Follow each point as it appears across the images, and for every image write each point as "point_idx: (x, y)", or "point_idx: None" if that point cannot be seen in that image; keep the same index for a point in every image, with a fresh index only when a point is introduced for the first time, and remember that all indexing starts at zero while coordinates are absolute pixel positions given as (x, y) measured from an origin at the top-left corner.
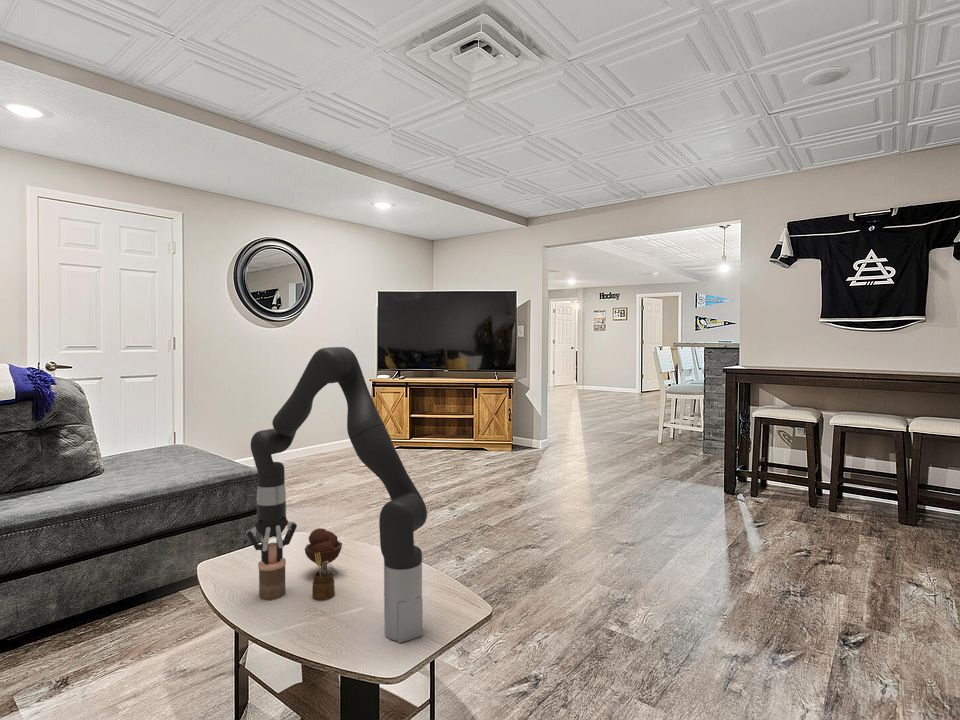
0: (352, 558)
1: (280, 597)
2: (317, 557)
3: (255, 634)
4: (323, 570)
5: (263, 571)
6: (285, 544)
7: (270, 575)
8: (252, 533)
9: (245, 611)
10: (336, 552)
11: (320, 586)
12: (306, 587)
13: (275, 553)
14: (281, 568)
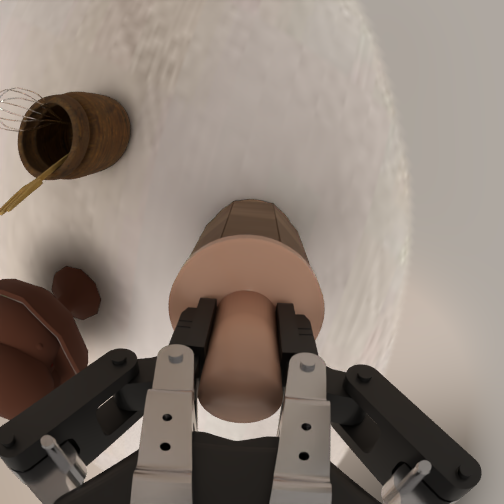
0: None
1: (231, 203)
2: (16, 199)
3: (364, 18)
4: (39, 174)
5: None
6: (139, 362)
7: (272, 233)
8: (425, 485)
9: (358, 190)
10: None
11: (85, 95)
12: (130, 251)
13: (225, 327)
14: None
